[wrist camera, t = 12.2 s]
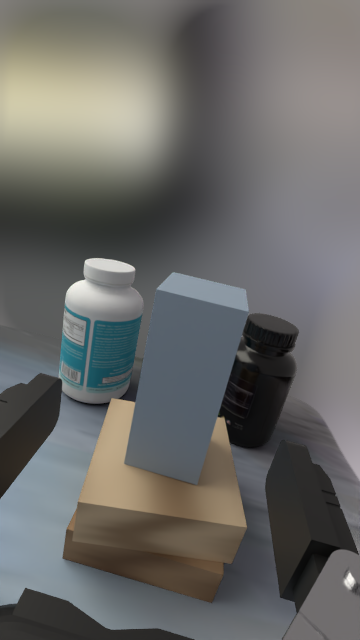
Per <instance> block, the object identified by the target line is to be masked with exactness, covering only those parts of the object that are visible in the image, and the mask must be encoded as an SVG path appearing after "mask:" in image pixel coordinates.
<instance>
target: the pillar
mask: <svg viewBox="0 0 360 640" xmlns="http://www.w3.org/2000/svg"><path fill="white" fill-rule="evenodd" d="M248 313H249V310H248V303H247V296H246V290H245V289H241V288H237V287H233V286H229V285H225V284H221V283H216V282H212V281H208V280H204V279H199V278H196V277H191V276H187V275H183V274H179V273H174V272H173V273H172V274H171V275H170V276H169V277H168V278H167V279H166V280H165V281H164V282H163V283H162V284H161V285H160V286H159V287H158V288H157V289H156V294H155V300H154V305H153V311H152V316H151V321H150V327H149V332H148V338H147V343H146V348H145V353H144V359H143V364H142V370H141V375H140V380H139V386H138V391H137V396H136V402H135V407H134V413H133V418H132V423H131V429H130V434H129V439H128V445H127V450H126V455H125V461H124V464H126V465H130V466H133V467H137V468H140V469H144V470H147V471H150V472H154V473H157V474H161V475H164V476H168V477H171V478H174V479H178V480H181V481H185V482H188V483H192V484H195V485H197V484H198V480H199V477H200V474H201V470H202V467H203V464H204V460H205V457H206V453H207V450H208V447H209V443H210V440H211V437H212V433H213V430H214V427H215V423H216V420H217V417H218V413H219V410H220V407H221V403H222V400H223V397H224V393H225V390H226V387H227V383H228V380H229V376H230V373H231V370H232V366H233V363H234V360H235V356H236V353H237V350H238V346H239V343H240V340H241V336H242V333H243V330H244V326H245V323H246V320H247V316H248Z"/></svg>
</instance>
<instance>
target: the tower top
mask: <svg viewBox="0 0 360 640" xmlns="http://www.w3.org/2000/svg"><path fill="white" fill-rule="evenodd" d="M134 407H135V402H131V401H125V400H120V399H114V398H111V402H110V405H109V408H108V411H107V414H106V417H105V420H104V423H103V426H102V429H101V432H100V435H99V438H98V442H97V445H96V448H95V451H94V454H93V457H92V460H91V463H90V466H89V469H88V472H87V475H86V478H85V482H84V485H83V488H82V491H81V494H80V497H79V500H78V505H77V511H76V518H75V525H74V531H73V538H72V541H75V542H82V543H89V544H96V545H103V546H110V547H117V548H124V549H131V550H138V551H145V552H152V553H159V554H167V555H174V556H181V557H188V558H195V559H202V560H209V561H216V562H223V563H229V564H232V562H233V560H234V557H235V555H236V553H237V550H238V548H239V546H240V543H241V541H242V538H243V536H244V534H245V531H246V529H247V525H246V520H245V515H244V510H243V505H242V501H241V496H240V491H239V486H238V481H237V476H236V472H235V467H234V462H233V457H232V452H231V447H230V443H229V438H228V433H227V428H226V423H225V419H224V418H219V417H217V420H216V423H215V427H214V430H213V433H212V437H211V440H210V443H209V447H208V450H207V453H206V457H205V460H204V464H203V467H202V470H201V474H200V477H199V480H198V484H197V485H195V484H192V483H188V482H185V481H181V480H178V479H174V478H171V477H168V476H164V475H161V474H157V473H154V472H150V471H147V470H144V469H140V468H137V467H133V466H130V465H126V464H124V461H125V455H126V450H127V445H128V439H129V434H130V429H131V423H132V418H133V413H134Z"/></svg>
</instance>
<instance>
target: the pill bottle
mask: <svg viewBox="0 0 360 640" xmlns="http://www.w3.org/2000/svg"><path fill="white" fill-rule="evenodd" d="M134 276H135V268H134V267H133V266H131V265H129V264H126V263H123V262H119V261H115V260H109V259H98V258H97V259H96V258H95V259H88V260H86V261H85V266H84V277H85V278H86V280H82V281H79V282H76V283H75V284H73V285H72V286H71V287H70V288H69V290H68V291H67V294H66V300H65V310H64V322H63V334H62V344H61V356H60V368H59V378H60V379H62V390H63V392H64V393H65V394H66V395H68V396H69V397H71V398H73V399H75V400H77V401H80V402H84V403H91V404H101V403H107V402H111V398H114V399H118V398H120V397H121V396H123V395H124V394H125V393H126V391H127V390H128V387H129V384H130V379H131V374H132V368H133V363H134V357H135V351H136V346H137V339H138V334H139V329H140V323H141V317H142V312H143V299H142V297H141V296H140V294H139V293H138V292H137V291H136V290H135V289H133V288H132V287H130V285H131V284H132V282H133V281H134Z"/></svg>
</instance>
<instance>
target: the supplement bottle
mask: <svg viewBox="0 0 360 640" xmlns="http://www.w3.org/2000/svg"><path fill="white" fill-rule="evenodd" d="M298 333H299V331H298V329H297V328H296V326H294V325H293V324H291V323H289V322H288V321H285V320H283V319H281V318H278V317H274V316H271V315H267V314H260V313H255V314H250V315H249V316H248V317H247V320H246V324H245V327H244V330H243V333H242V335H243V337H241V340H240V343H239V346H238V350H237V353H236V356H235V360H234V363H233V366H232V370H231V373H230V376H229V380H228V383H227V387H226V390H225V393H224V397H223V400H222V403H221V407H220V410H219V413H218V417H219V418H224V419H225V423H226V428H227V433H228V438H229V442H231V443H234V444H236V445H239V446H244V447H258V446H261V445H263V444H265V443H267V442H268V441H269V440H270V438H271V436H272V434H273V431H274V429H275V427H276V424H277V421H278V419H279V416H280V414H281V411H282V408H283V406H284V403H285V401H286V398H287V395H288V393H289V390H290V388H291V385H292V382H293V380H294V377H295V374H296V371H297V364H296V361H295V358H294V357H293V355H292V354H291V353H290V352H292V351H293V349H294V347H295V342H296V339H297V336H298Z"/></svg>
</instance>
